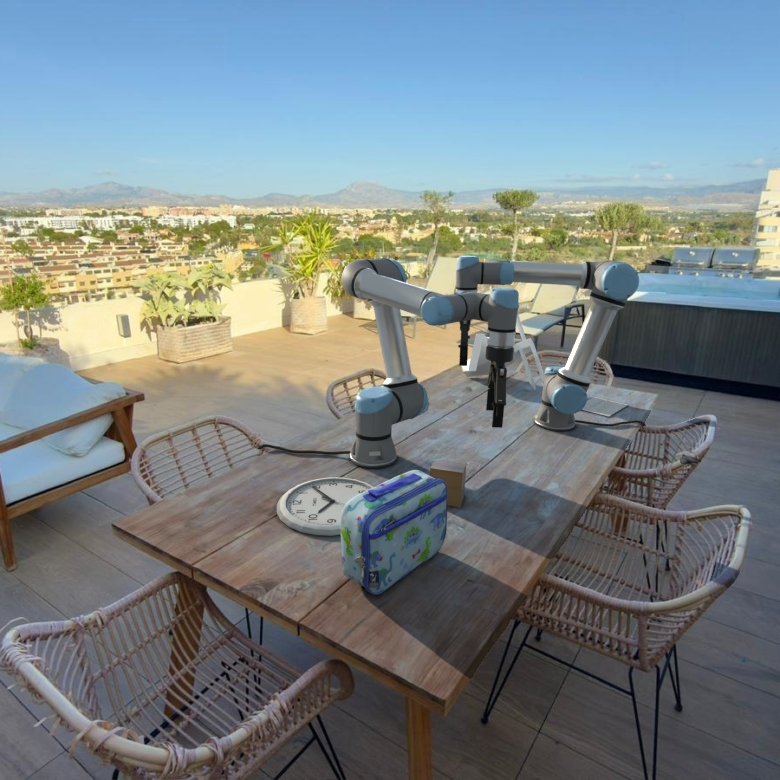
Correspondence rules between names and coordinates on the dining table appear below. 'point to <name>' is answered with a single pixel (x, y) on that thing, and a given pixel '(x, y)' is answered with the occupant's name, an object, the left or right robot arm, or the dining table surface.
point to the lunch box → (393, 529)
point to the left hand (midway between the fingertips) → (493, 418)
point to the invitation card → (603, 406)
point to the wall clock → (318, 504)
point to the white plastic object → (482, 366)
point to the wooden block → (451, 479)
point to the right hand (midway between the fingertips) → (463, 360)
